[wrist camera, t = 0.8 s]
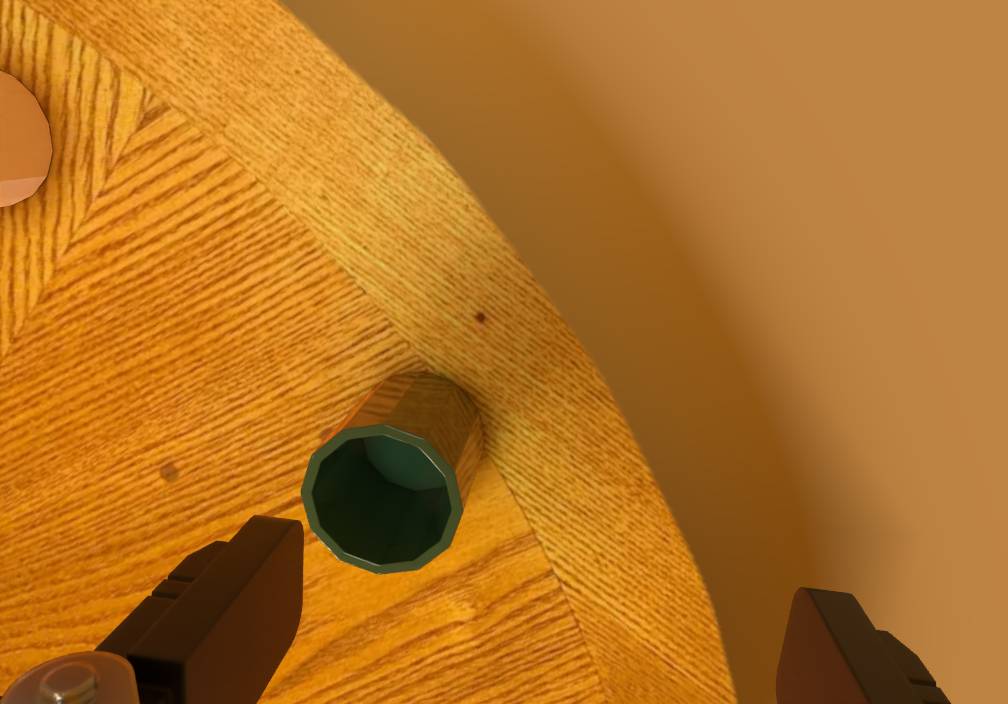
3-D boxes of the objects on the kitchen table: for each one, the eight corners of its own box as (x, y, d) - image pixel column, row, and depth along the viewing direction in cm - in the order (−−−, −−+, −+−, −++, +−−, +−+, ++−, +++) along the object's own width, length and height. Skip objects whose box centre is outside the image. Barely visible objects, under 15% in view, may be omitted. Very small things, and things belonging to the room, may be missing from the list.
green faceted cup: (424, 345, 30) (384, 393, 24) (510, 443, 31) (494, 514, 25) (331, 424, 31) (270, 488, 25) (415, 515, 32) (377, 601, 26)
